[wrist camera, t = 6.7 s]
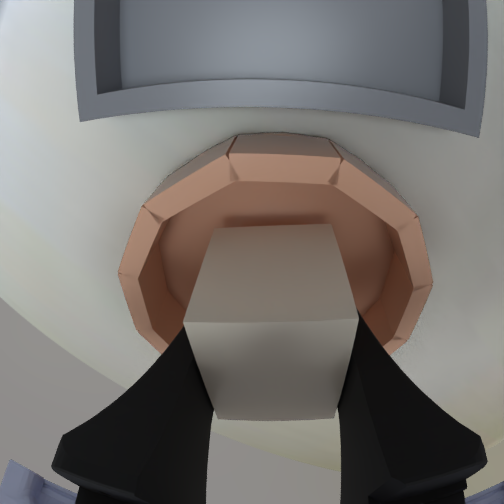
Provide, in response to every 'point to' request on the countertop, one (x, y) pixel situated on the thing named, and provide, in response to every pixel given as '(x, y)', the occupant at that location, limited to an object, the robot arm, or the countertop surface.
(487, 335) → the countertop surface
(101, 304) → the countertop surface
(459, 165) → the countertop surface
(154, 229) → the bowl
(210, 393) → the stone block
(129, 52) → the parts tray
